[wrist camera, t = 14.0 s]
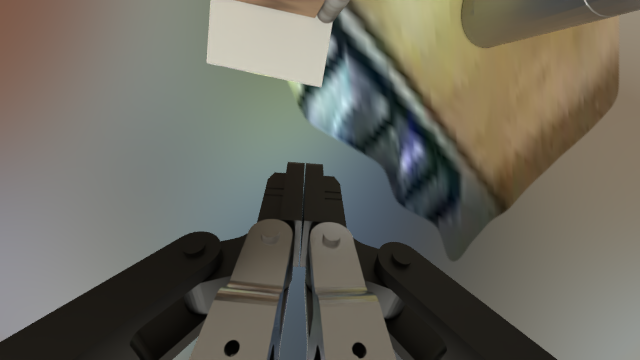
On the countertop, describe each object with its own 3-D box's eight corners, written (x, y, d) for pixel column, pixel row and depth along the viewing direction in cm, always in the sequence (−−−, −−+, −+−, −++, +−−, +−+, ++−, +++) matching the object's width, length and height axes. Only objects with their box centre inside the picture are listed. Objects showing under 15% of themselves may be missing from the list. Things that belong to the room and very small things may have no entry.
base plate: (339, -25, 31) (358, -59, 24) (319, 87, 34) (332, 83, 28) (216, -65, 28) (201, -117, 21) (208, 63, 31) (192, 52, 24)
